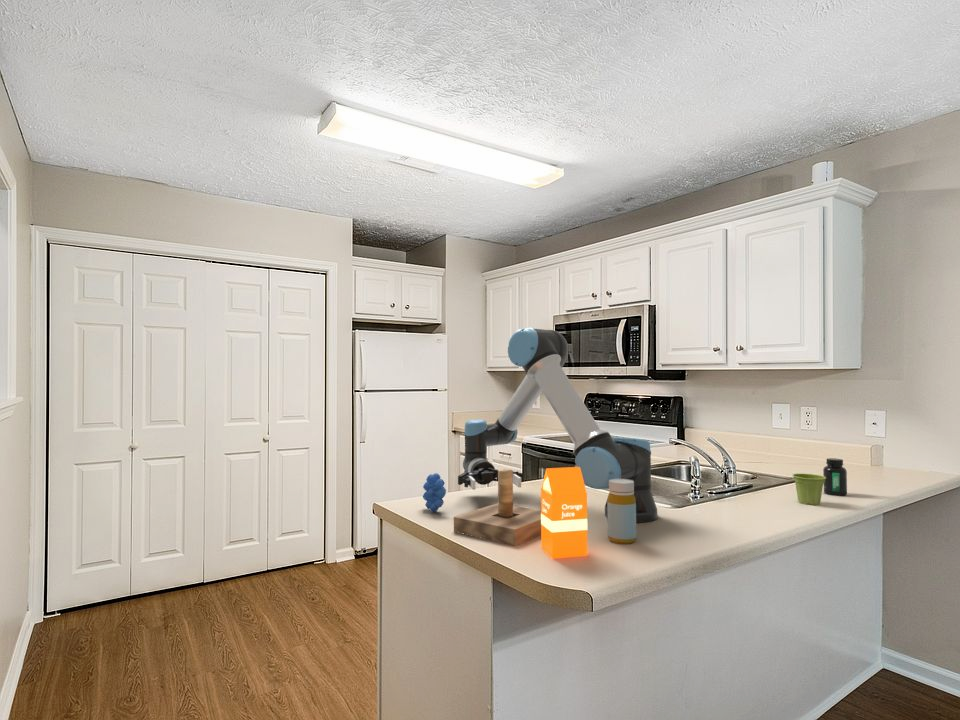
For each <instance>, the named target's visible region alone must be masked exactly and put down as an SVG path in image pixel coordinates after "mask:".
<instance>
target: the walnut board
mask: <svg viewBox="0 0 960 720" xmlns="http://www.w3.org/2000/svg"><path fill="white" fill-rule="evenodd" d="M453 532H454V533H456V532H459V533H458V534H461V533H464V534H463V535H465V534H468V535H467V536H470V535H472V536H471V537H474V536H477V537H476V538H479V537H481V538H480V539H483V538H485V539H484V540H487V539H489V541H492V540H494V541H493V542H496V541H497V542H498V543H501V544H506V545H511V546H514V547H516V546H518V545H520V544H523V543H525V542H527V541H529V540H531V539H535V538H536V537H538V536H541V509H540V510H539V509H534V508H529V507H523V506H516V505H513V517H512V518H509V519H507V518H501V517H498V502H497V503H493V504H491V505H487V506H484V507H481V508H478V509H475V510H471V511H469V512H466V513H465V512H464V513H462V514H458V515H456V516H453ZM497 542H496V543H497Z"/></svg>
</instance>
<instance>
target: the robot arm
mask: <svg viewBox="0 0 960 720" xmlns="http://www.w3.org/2000/svg"><path fill="white" fill-rule="evenodd" d="M507 355H508V358H509V361H510V362H511V363H512V364H513V365H514V366H517V367H519V368H520V367H522V369H523V371H524V372H525V374H526V375H525V377H524V378H523V380H522V381H521V383H520V384H519V385H518V387H517V389H516V391H515V392H514V393H513V394H512V397H511V398H510V399H509V401H508V403H507V404H506V405H505V407H504V409H503V410H502V412H501V414H499V417H498V418H497V419H496V421H495V422H494V423H491V424H487V420H484V419H469V420H468V419H467V420H466V421H465V423H464V457H463V460H462V461H463V462H462V467H463V468H462V469H463V470H464V471H463V473H461V474H459V475H458V476H457V485H459V486H461V485H463V484H464V485H463V486H464V488H468V487H470V489H471V490H473V491H474V490H476V484H478V485H483V486H486V485H489V484H490V483H491V482H498V470H499V469H496V468H495V466H494V465H493V464H492V463H491V462H490V461H489V460H487V459H488V456H487V455H488V454H487V453H488V447H492V446H501V445H508V444H511V443H513V442H515V441H516V440H517V437H518V428H519V426H520V424H521V423H522V422H523V420H524V419H525V417H526V416H527V414H528V413H529V411H531V409H532V407H533V405H534V404H535V403H536V402H537V399H538V398H539V397H540V396H541V394H542V393H543V394H544V396H545V398H546V400H547V401H548V403H549V405H550V406H551V407H552V410H553V411H554V413H555V414H556V416H557V418H558V420H559V421H560V423H561V424H562V426H563V427H564V429H565V431H566V433H567V435H568V436H569V438H570V441H572V443H573V444H574V447H573V451H572V453H573V455H574V456H575V459H574V463H575V464H574V467H580V469H581V473H582V477H583V481H584V485H585V486H587V487H589V488H591V489H595V490H607V489H608V490H609V480H611V479H629V480H633V481H634V496H635V499H636V523H646V522H647V523H648V522H652V521H656V520H657V519H658V515H659V514H658V508H657V504H656V502H655V499H654V496H653V493H652V486H651V485H652V467H651V466H652V459H651V457H652V451H651V444H650V441H649V440H648V439H641V438H631V437H621V436H620V437H617V436H611V434H610V433H609V432H608V431H606V430H602V429H601V428H600V427H599V425H598V424H597V421H596V420H595V419H594V417H593V415H592V414H591V412H590V410H589V409H588V407H587V406H586V404H585V403H584V401H583V399H582V398H581V396H580V394H579V393H578V392H577V389H576V388H575V387H574V386H573V385H574V384H572V382H571V380H570V379H569V377H568V376H567V374H566V373H565V371H564V369H563V367H564V365H565V363H566V361H567V358H568V355H569V346H568V342H567V340H566V338H565V337H564V335H563V334H562V333H560V332H558V331H557V330H554V329H544V328H543V329H542V328H533V327H526V328H525V327H523V328H519V329H517V330H516V331H515V332H513V334H512V335H511V336H510V338H509V341H508V346H507ZM524 478H525V477H524V473H523V472H520V471H514V470H513V485H515V486H516V487H518V488H522V483H524V481H525V480H524ZM608 496H609V494H608V495H607V499H606V502H605V504H604V516H605V517H607V518H608V512H607V501H608Z"/></svg>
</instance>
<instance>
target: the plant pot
mask: <svg viewBox="0 0 960 720" xmlns="http://www.w3.org/2000/svg"><path fill="white" fill-rule="evenodd" d="M791 476H792V478H793V481H794V482H795V483H794V484H795V488H796V489H795V490H796V496H797V501H798V503H800V504H803V505H808V504H809V505H812V506H818V505H820V504H821V499H822V493H823V489H824V481H825V479H826V477H824V476H823V475H821V474H820V475H819V474H812V473H793V474H792V475H791Z"/></svg>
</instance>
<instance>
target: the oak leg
mask: <svg viewBox="0 0 960 720" xmlns="http://www.w3.org/2000/svg"><path fill="white" fill-rule="evenodd" d="M497 470H498V481H497V500H498V501H497V503H498V517H501V518H507V519H509V518H512V517H513V506H514V484H513V471H514V470H512V469H506V468H503V469H497Z"/></svg>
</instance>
